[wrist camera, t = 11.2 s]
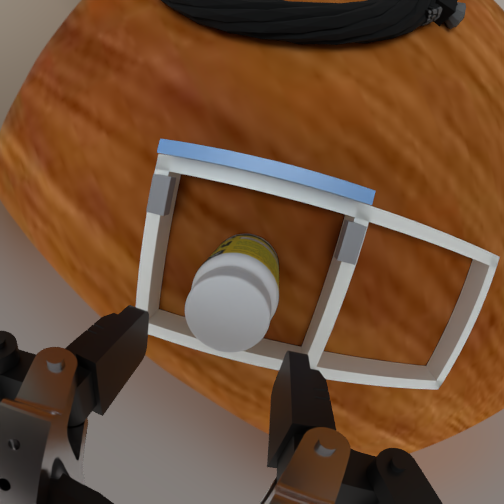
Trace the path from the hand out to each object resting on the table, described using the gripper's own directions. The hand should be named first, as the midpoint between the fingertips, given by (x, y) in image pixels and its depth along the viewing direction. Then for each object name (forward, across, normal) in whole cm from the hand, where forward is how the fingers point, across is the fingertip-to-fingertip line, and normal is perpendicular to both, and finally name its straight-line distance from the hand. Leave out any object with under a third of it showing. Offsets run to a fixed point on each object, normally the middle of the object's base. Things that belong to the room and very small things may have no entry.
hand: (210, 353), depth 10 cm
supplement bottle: (+12, 0, 0) cm, 12 cm away
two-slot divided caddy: (+11, -6, 0) cm, 13 cm away
